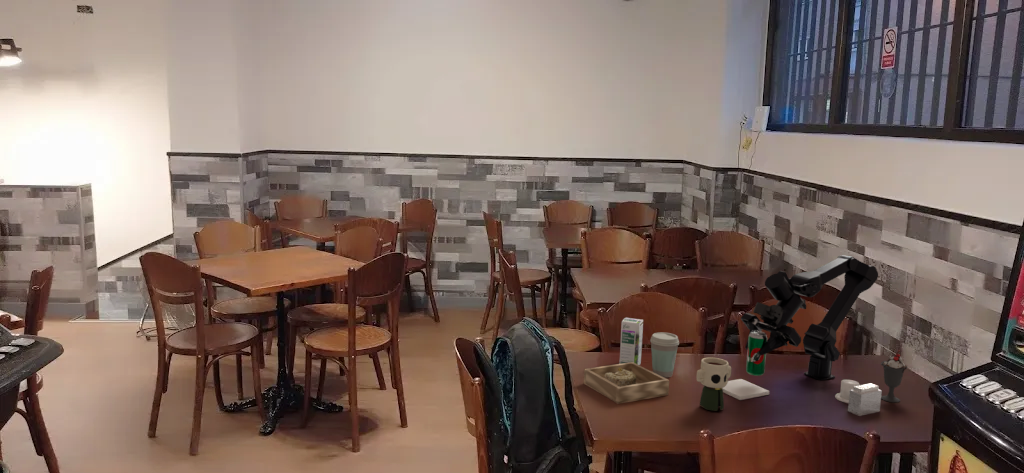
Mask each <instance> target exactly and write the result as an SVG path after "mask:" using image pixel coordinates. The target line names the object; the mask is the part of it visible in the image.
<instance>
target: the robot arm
mask: <svg viewBox="0 0 1024 473" xmlns="http://www.w3.org/2000/svg"><path fill="white" fill-rule="evenodd" d="M877 270H878V269H877V268H876V266H874V265H869V264H866V263H864V262H863V261H860V260H859V259H858V258H856V257H855V256H849V255H845V254H841V255H838V256H837V258H835V259H833V260H831V261H830V262H828V263H826V264H823V265H822V266H819V267H818V268H816V269H814V270H810V271H802V272H800V273H796V274H794V275H792V276H791V277H790V278H789V277H788V274H787V272H786V271H782V270H779V271H778V272H777V273H773V274H772V275H770V276H768V277H767V278H766V279H765V281H764V286H765V288H766V289H767V290H768V291H769V293H770V294H771V296H772V297H773V299H775V300H776V301H777V303H776V304H772V305H768V304H765V303H761V302H758V301H757V302H756V303H755V306H754V308H753V312H752V313H749V312H745V313H744V314H743V315H742V316H741V318H740V320H741V322H743V324H744V325H745V326H746V327H747V329H748V330H749V332H748V336H747V337H748V338H747V340H746V344H745V347H744V348H745V350H747V351H748V339H749V335H750V332H751V331H761V332H762V331H766V332H768V333H770V334H769V338H767V342H766V343H765V345H764V346H763V347H762V349H761V351H760V352H759V354H760V355H764V354H766V355H767V353H770V352H772V351H775V350H777V349H779V348H781V347H784V346H785V347H787V346H788V345H790V346H793V347H796V348H798V347H799V345H800V344H801V342H802V344H803V348H804V353H805V354H806V355H809V360H808V366H807V368H808V369H807V371H804V372H803V374H804V375H806V376H808V377H811V378H813V379H817V380H818V381H825V380H830V379H835V378H836V375H834V374H832V367H833V362H836V361H838V360H839V357H840V355H841V352H840V351H839V350H838V348H837V347H836V344H837V331H838V330H839V328H840V327H841V324H842V323H843V321H844V320H845V318H846V317H847V315H848V314H849V312H850V310H851V308H852V307H853V306H854V304H855V302H856V300H857V299H858V297H859V296H860V295H861V293H864V292H866V291H867V290H870V289H871V288H872V287H873V285H874V284H875V283H876V282H877V279H878V277H879V272H878V271H877ZM842 275H844V278H843V279H844V286H843V287H842V288H841V290H840V292H839V293H838V295H837V296H836V298H835V299H834V301H833V303H832V304H831V306H830V307H829V309H828V310H827V311H826V314H825V315H824V317H823V318H822V320H821V321H820V323H817V324H815V323H810V325H809V326H808V328H807V330H806V331H805V332H804V336H803V338H802V337H801V336H800V334H799V332H797V330H796V329H795V327H791V326H789V325H788V324H791V325H792V324H793V323H794V320H793V317H794V316H795V314H796V313H797V312H798V311H799V310H800V309H802V310H806V309H807V303H806V299H804V298H802V297H801V296H804V297H807V298H812V297H814V296H816V295H817V294H818V293H820V292H821V291H822V289H823V286H825V284H828V283H830V281H833V280H834V279H837V278H838V277H840V276H842ZM755 314H757V315H759V317H758V316H757V315H755ZM759 318H760V319H759ZM761 320H762V321H761Z"/></svg>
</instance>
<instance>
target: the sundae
mask: <svg viewBox="0 0 1024 473" xmlns="http://www.w3.org/2000/svg"><path fill="white" fill-rule="evenodd" d="M899 352H900V349H898V350H897V352H896V353H895V354H892V355H890V356H889V358H888V359H887V360H883V361H882V362H881V363H880V365H881V366H882V367H883V380H884V383H885V384H886V386H887V387H888V388H889V389H888V393H887V394H886V395H881V400H883V401H885V402H889V403H893V404H895V403H900V402H901V399H900V398H898V397H896V396H895V392H894V391H895V388H897V387H899V386H900V385H901V383H902V381H903V376H904V372H905V371H906V370H907V369H908V366H907V365H906V364H905V363H904V361H903V358H902V357H901V354H899Z"/></svg>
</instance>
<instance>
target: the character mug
mask: <svg viewBox="0 0 1024 473" xmlns="http://www.w3.org/2000/svg"><path fill="white" fill-rule="evenodd" d="M731 376H732V367H731V365H729V361H728V360H725V359H722V358H718V357H712V356H711V357H704V358H701V360H700V369H698V370H696V382H699V383H700V384H702V385H703V387H702V391H701V395H700V400H699V406H701V407H702V408H704V409H705V410H708V411H716V412H717V411H718V408H719V409H720V411H723V410H724V409H725V408H724V405H725V403H724V399H725V398H724V392H723V389H722V388H724V387H725V386H726V385H727V383H728V381H729V379H730V378H731Z"/></svg>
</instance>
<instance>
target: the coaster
mask: <svg viewBox="0 0 1024 473" xmlns="http://www.w3.org/2000/svg"><path fill="white" fill-rule="evenodd" d="M722 389H723V394H726V395H729V396H730V397H732V398H735V399H736V400H739V401H743V400H748V399H753V398H758V397H763V396H768V395H770V390H768V389H766V388H763V387H761V386H759V385H756V384H754V383H751V382H749V381H747V380H745V379H742V378H738V379H732V380H728V383H727V385H726V386H725V387H724V388H722Z"/></svg>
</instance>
